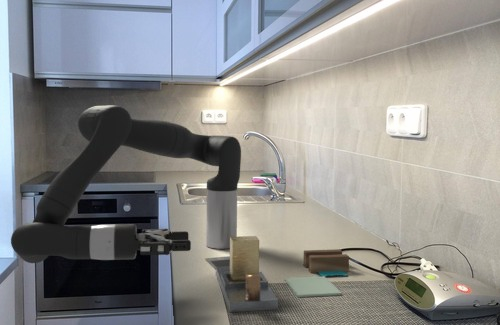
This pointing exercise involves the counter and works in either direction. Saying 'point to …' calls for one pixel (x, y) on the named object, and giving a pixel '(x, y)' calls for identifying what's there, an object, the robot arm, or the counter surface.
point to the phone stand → (326, 260)
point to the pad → (312, 286)
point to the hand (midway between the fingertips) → (189, 240)
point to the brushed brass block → (243, 257)
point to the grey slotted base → (246, 292)
